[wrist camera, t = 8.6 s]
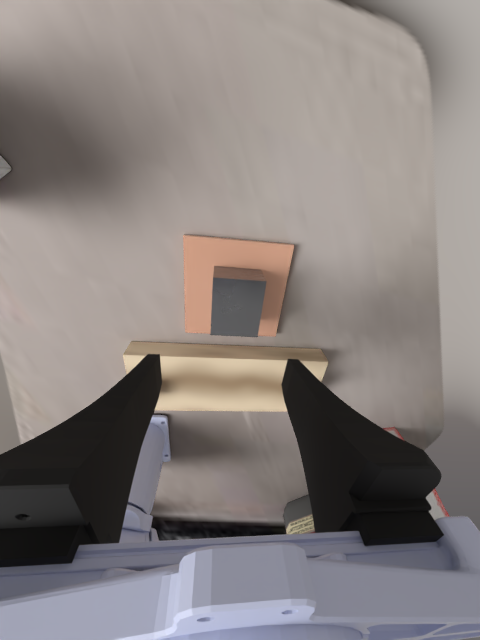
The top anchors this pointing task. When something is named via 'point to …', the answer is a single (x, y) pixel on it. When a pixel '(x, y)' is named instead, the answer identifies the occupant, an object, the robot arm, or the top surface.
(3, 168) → the skincare box
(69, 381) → the top surface
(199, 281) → the terracotta tile
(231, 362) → the hand plane
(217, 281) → the gray rectangular block
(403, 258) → the top surface
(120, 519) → the robot arm
